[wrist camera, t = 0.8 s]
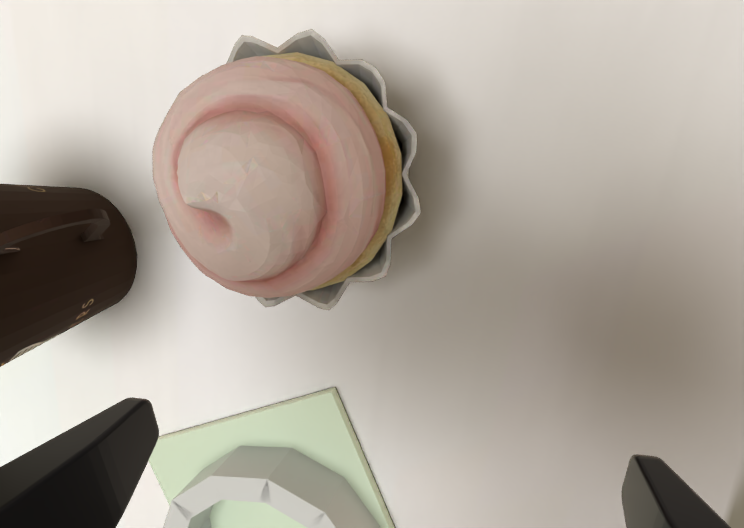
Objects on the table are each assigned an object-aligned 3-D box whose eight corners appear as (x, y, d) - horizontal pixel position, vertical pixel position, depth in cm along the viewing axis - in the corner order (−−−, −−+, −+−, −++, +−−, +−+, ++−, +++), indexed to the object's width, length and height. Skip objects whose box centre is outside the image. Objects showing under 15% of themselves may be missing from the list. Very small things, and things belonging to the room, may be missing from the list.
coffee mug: (27, 314, 28) (-217, 396, 19) (12, 158, 26) (-271, 162, 17) (209, 352, 25) (24, 470, 16) (208, 178, 23) (-5, 197, 14)
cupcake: (201, 178, 23) (-14, 196, 14) (326, 6, 20) (154, -120, 11) (343, 321, 23) (218, 440, 13) (494, 169, 20) (468, 186, 10)
